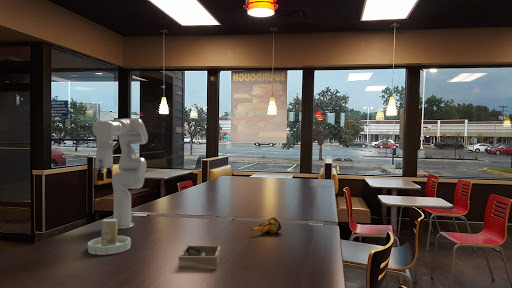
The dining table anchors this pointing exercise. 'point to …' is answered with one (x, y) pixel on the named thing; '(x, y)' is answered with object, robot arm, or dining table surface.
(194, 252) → the eagle figurine
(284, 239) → the dining table surface
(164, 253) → the dining table surface
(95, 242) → the round tray
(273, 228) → the yellow gourd
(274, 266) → the dining table surface
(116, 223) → the skincare box
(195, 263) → the wooden display box
